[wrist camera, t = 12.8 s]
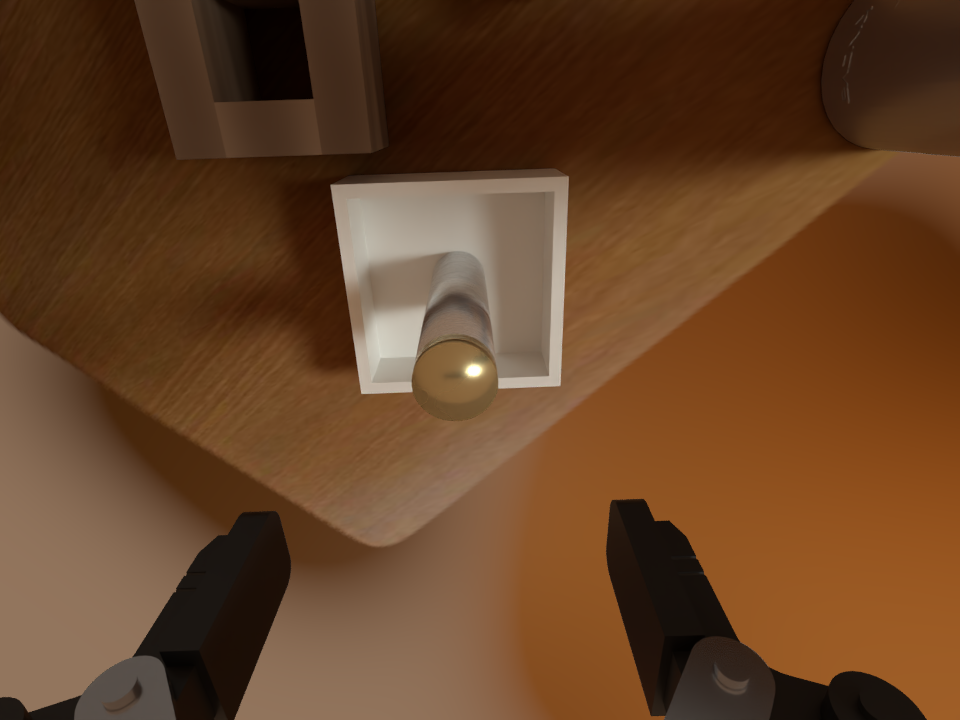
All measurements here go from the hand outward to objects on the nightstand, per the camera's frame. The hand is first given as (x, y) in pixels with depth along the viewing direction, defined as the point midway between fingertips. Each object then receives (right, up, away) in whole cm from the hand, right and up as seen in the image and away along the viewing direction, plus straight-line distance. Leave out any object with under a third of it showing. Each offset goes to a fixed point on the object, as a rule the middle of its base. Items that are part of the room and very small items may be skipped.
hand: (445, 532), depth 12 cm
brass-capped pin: (0, +9, +19) cm, 21 cm away
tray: (-1, +10, +20) cm, 22 cm away
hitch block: (-9, +20, +15) cm, 27 cm away
